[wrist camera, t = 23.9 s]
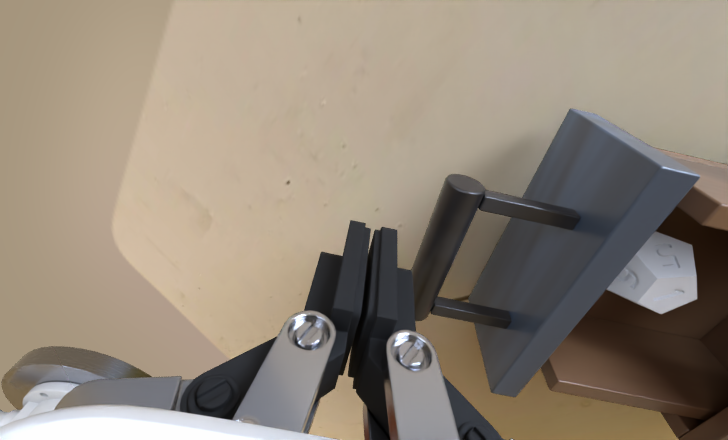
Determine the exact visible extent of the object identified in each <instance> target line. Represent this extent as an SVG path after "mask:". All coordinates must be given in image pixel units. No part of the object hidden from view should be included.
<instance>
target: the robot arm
mask: <svg viewBox="0 0 728 440" xmlns="http://www.w3.org/2000/svg"><path fill="white" fill-rule="evenodd" d="M370 230H371V229H370V228H366V227H365V223H362V222H357V221H352V220H351V221H350V225H349V230H348V234H347V239H346V243H345V248H344V252H343V256H339V255H334V254H330V253H325V252H321V254H320V258H319V261H318V265H317V268H316V271H315V275H314V278H313V282H312V285H311V289H310V292H309V295H308V299H307V302H306V306H305V309H304V311H301V312H298V313H295V314H294V315H292V316H291V317H289V318H288V320H287V321H286V322H285V323H284V325H283V327H282V329H281V331H280V333H279V334H278V336H277V337H275V338H273V339H271V340H269V341H267V342H265V343H263V344H261V345H259V346H257V347H255V348H253V349H251V350H249V351H247V352H245V353H243V354H241V355H239V356H237V357H235V358H233V359H231V360H229V361H227V362H225V363H223V364H221V365H219V366H217V367H215V368H213V369H211V370H209V371H207V372H205V373H203V374H201V375H200V376H198V377H197V378H195V379H193V380H182V377H181V376H172V377H145V378H118V379H98V380H93V381H88V382H86V383H83V384H81V385H79V384H75V383H68V382H47V383H42V384H39V385H36V386H35V387H33V388H32V389H31V390H30V391H29V392H28V393H27V395H26V396H25V397H24V398H23V408H22V409H21V410H13V411H12V412H9V413H7V412H3V411H2V410H0V440H338V439H333V438H327V437H322V436H316V435H311V434H309V432H310V429H311V426H312V423H313V420H314V417H315V414H316V411H317V408H318V406H319V403H320V399H321V397H323V396H324V395H326V394H327V393H329V392H330V391H332V390H333V389H335V386H336V382H337V379H338V375H343V373H344V370H345V367H346V363H347V360H348V356H349V353H350V350H351V355H350V363H349V370H348V377H353V378H354V381H353V389H356V393H357V394H358V396H359V397H360V398H361V400H362V401H363V402H364V403H363V421H364V437H365V440H505V439H502V438H501V436H500V435H499V434H498V432H497V431H496V430H495V429H494V428H493V426H492V425H491V424H490V423H489V422H488V421H487V420H486V419H485V418H484V417H483V416H482V415H481V414H480V413H479V412H478V411H477V410H476V409H475V408H474V407H473V406H472V405H471V404H470V403H469V402H468V401H467V400H466V399H465V398H464V396H463V395H462V394H461V393H460V392H459V391H458V390H457V389H456V388H455V387H454V386H453V385H452V384H451V383H450V382H449V381H448V380H447V379H446V378H445V377H444V376H443V374H442V371H441V367H440V363H439V360H438V356H437V353H436V350H435V348H434V346H433V345H432V343H431V342H430V341H429V340H428V339H427V338H426V337H424V336H423V335H422V334H420V333H418V332H416V326H415V309H414V291H413V275H412V271H411V270H406V269H402V268H397V230H395V229H390V228H385V227H382V228H381V230H375V231H374V235H373V239H372V242H371V246H370V250H369V253H368V249H369V239H370ZM351 346H352V347H351ZM509 440H514V439H512V438H510V439H509Z"/></svg>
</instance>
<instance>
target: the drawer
mask: <svg viewBox="0 0 728 440" xmlns="http://www.w3.org/2000/svg"><path fill="white" fill-rule="evenodd" d="M478 208H479V210H481V211H485V212H490V213H494V214H499V215H504V216H508V217H512V218H511V219H510V221H509V223H508V225H507V227H506V229H505V231H504V233H503V234H502V236H501V238H500V240H499V242H498V244H497V246H496V247H495V249H494V251H493V253H492V255H491V257H490V259H489V261H488V262H487V264H486V266H485V268H484V270H483V272H482V274H481V275H480V277H479V279H478V281H477V283H476V285H475V287H474V289H473V290H472V292H471V294H470V296H469V298H468V300H469V303H467V302H462V301H458V300H453V299H448V298H443V297H438V294H439V291H440V289H441V287H442V285H443V283H444V281H445V278H446V276H447V274H448V272H449V270H450V268H451V265H452V263H453V261H454V259H455V257H456V254H457V252H458V250H459V248H460V246H461V244H462V241H463V239H464V237H465V235H466V233H467V231H468V228H469V226H470V224H471V222H472V220H473V218H474V215H475V213H476V211H477V209H478ZM655 231H656V232H659V233H661V234H664V235H667V236H669V237H672V238H675V239H677V240H680V241H683V242H685V243H688V244H691V245H692V247H693V254H694V261H695V268H696V276H697V299H696V300H694V301H692V302H689V303H687V304H684V305H682V306H680V307H677V308H675V309H673V310H670V311H668V312H665V313H663V314H659V313H657V312H655V311H652V310H650V309H647V308H645V307H643V306H640V305H638V304H636V303H634V302H632V301H630V300H627V299H625V298H623V297H621V296H619V295H617V294H614V293H612V292H610V291H608V290H606V289H607V288H608V287H609V286H610V284H611V283H612V282H613V281H614V280H615V278H616V277H617V276H618V275H619V274H620V273H621V271H622V270H623V269H624V268H625V267H626V265H627V264H628V263H629V262H630V261H631V259H632V258H633V257H634V256H635V255H636V253H637V252H638V251H639V250H640V249H641V248H642V246H643V245H644V244H645V243H646V242H647V240H648V239H649V238H650V237H651V236H652V234H653V233H654V232H655ZM411 271H412V275H413V291H414V309H415V321H422V320H424V319H426V318H427V317H428V315H429V313H430V311H431V314H433V315H438V316H443V317H448V318H453V319H458V320H463V321H468V322H473V323H474V325H475V329H476V333H477V337H478V341H479V345H480V350H481V354H482V358H483V362H484V366H485V370H486V374H487V378H488V382H489V386H490V391H491V393H495V394H500V395H505V396H510V397H516V396H517V395H518V394H519V393H520V391H521V390H522V389H523V388H524V387H525V385H526V384H527V383H528V382H529V381H530V380H531V378H532V377H533V376H534V375H535V374H536V372H537V371H538V370H539V369H540V368H541V370H542V372H543V375H544V377H545V380H546V382H547V385H548V387H549V390H550V391H555V392H560V393H565V394H571V395H576V396H581V397H586V398H591V399H597V400H602V401H607V402H612V403H617V404H623V405H628V406H633V407H638V408H643V409H649V410H654V411H659V412H664V413H669V414H675V415H680V416H685V417H690V418H695V419H701V420H708V419H709V418H711V417H712V416H714V415H715V414H717V413H719V412H720V411H722V410H723V409H725V408H726V407H728V165H726V164H722V163H718V162H714V161H709V160H705V159H701V158H696V157H692V156H688V155H683V154H679V153H675V152H671V151H666V150H662V149H658V148H653V147H651V146H650V145H648V144H646V143H645V142H643V141H641V140H639V139H638V138H636V137H634V136H633V135H631V134H629V133H628V132H626V131H624V130H622V129H621V128H619V127H617V126H616V125H614V124H612V123H610V122H609V121H607V120H605V119H604V118H602V117H600V116H598V115H597V114H593V113H589V112H585V111H581V110H576V109H570V110H569V111H568V113H567V115H566V117H565V119H564V121H563V122H562V124H561V126H560V128H559V130H558V132H557V134H556V135H555V137H554V139H553V141H552V143H551V145H550V147H549V149H548V150H547V152H546V154H545V156H544V158H543V160H542V162H541V163H540V165H539V167H538V169H537V171H536V173H535V175H534V177H533V178H532V180H531V182H530V184H529V186H528V188H527V190H526V191H525V193H524V195H523V197H522V198H520V197H516V196H511V195H507V194H502V193H498V192H493V191H489V190H485V188H484V186H483V185H482V184H481V183H480V182H478V181H477V180H475V179H473V178H471V177H468V176H464V175H459V174H451V175H449V176H447V177H446V179H445V182H444V184H443V187H442V190H441V192H440V195H439V198H438V200H437V203H436V206H435V208H434V211H433V213H432V216H431V219H430V221H429V224H428V227H427V229H426V232H425V235H424V237H423V240H422V243H421V245H420V248H419V251H418V253H417V256H416V259H415V261H414V264H413V267H412V269H411Z"/></svg>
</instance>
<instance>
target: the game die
mask: <svg viewBox="0 0 728 440" xmlns="http://www.w3.org/2000/svg"><path fill="white" fill-rule="evenodd" d="M606 290H608V291H610V292H612V293H614V294H617V295H619V296H621V297H623V298H625V299H627V300H630V301H632V302H634V303H636V304H638V305H640V306H643V307H645V308H647V309H650V310H652V311H655V312H657V313H659V314H663V313H665V312H668V311H670V310H673V309H675V308H677V307H680V306H682V305H684V304H687V303H689V302H692V301H694V300H696V299H697V276H696V268H695V261H694V254H693V247H692V245H691V244H688V243H685V242H683V241H680V240H677V239H675V238H672V237H669V236H667V235H664V234H661V233H659V232H656V231H655V232H654V233H653V234H652V236H651V237H650V238H649V239H648V240H647V242H646V243H645V244H644V245H643V246H642V248H641V249H640V250H639V251H638V252H637V253H636V255H635V256H634V257H633V258H632V259H631V261H630V262H629V263H628V264H627V265H626V267H625V268H624V269H623V270H622V271H621V273H620V274H619V275H618V276H617V277H616V278H615V280H614V281H613V282H612V283H611V284H610V286H609V287H608V288H607V289H606Z"/></svg>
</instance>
